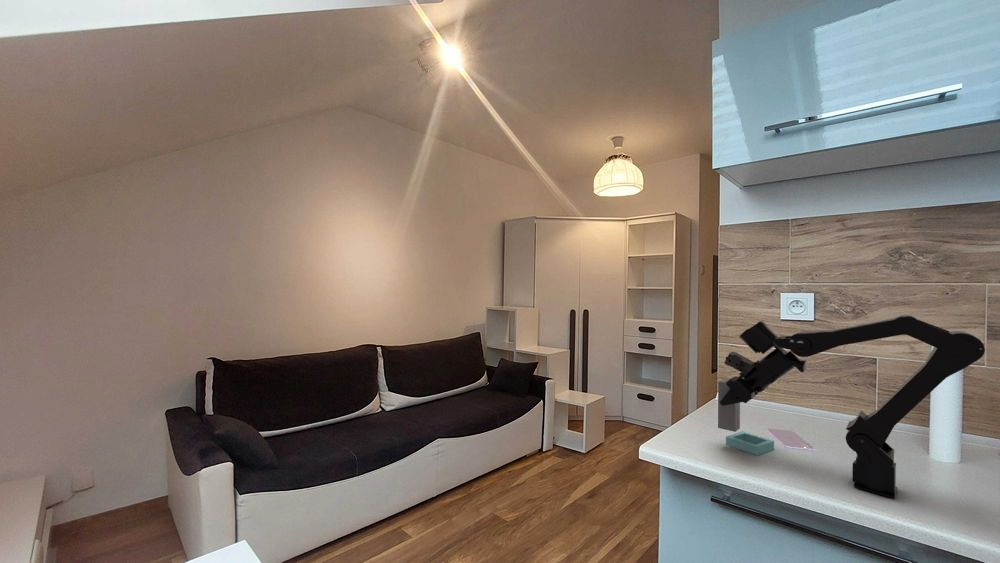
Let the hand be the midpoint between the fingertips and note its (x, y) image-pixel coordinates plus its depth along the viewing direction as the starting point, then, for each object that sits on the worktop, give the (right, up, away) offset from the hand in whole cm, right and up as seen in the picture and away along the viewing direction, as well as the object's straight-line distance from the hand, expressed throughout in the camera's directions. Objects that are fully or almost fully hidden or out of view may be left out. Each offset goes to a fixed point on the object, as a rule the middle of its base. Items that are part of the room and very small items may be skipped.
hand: (723, 402), depth 111 cm
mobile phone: (+23, -13, +7) cm, 27 cm away
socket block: (+8, -12, +1) cm, 15 cm away
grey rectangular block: (+1, -7, -1) cm, 7 cm away
